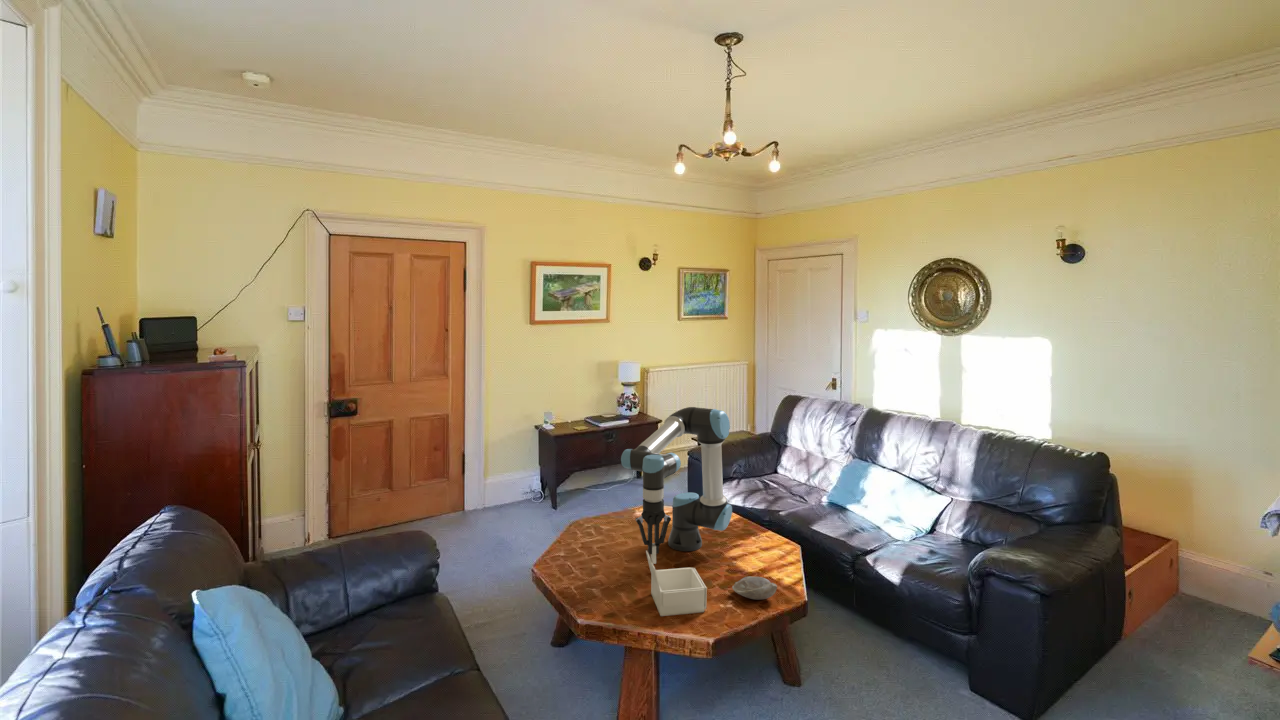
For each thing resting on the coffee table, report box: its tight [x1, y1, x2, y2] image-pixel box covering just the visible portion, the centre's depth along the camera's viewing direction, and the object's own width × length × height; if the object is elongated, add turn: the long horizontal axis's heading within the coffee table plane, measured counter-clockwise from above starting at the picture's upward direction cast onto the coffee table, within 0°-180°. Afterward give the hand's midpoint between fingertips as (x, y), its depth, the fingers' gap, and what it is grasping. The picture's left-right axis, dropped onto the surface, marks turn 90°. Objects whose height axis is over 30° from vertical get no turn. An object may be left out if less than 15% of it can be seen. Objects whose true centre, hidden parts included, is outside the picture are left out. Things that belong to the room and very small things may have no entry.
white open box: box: [650, 567, 708, 617], centre depth 218 cm, size 17×18×9 cm
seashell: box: [731, 575, 778, 600], centre depth 222 cm, size 9×12×15 cm
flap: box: [645, 549, 660, 590], centre depth 215 cm, size 8×16×1 cm
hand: (653, 562), depth 215 cm, fingers closed
